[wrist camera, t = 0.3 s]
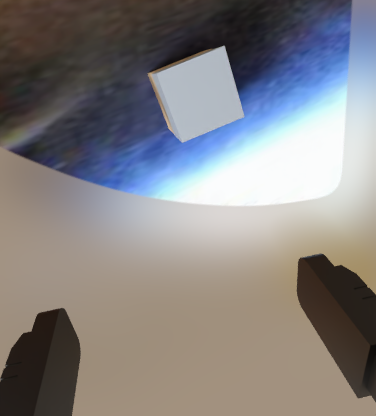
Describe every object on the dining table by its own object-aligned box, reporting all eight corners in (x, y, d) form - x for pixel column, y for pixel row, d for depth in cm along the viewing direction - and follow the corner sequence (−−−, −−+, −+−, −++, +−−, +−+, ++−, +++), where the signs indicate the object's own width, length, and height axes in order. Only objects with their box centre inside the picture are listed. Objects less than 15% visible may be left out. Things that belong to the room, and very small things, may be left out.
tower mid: (151, 73, 30) (156, 73, 26) (211, 49, 30) (224, 45, 26) (174, 135, 32) (182, 142, 29) (230, 112, 32) (244, 116, 29)
